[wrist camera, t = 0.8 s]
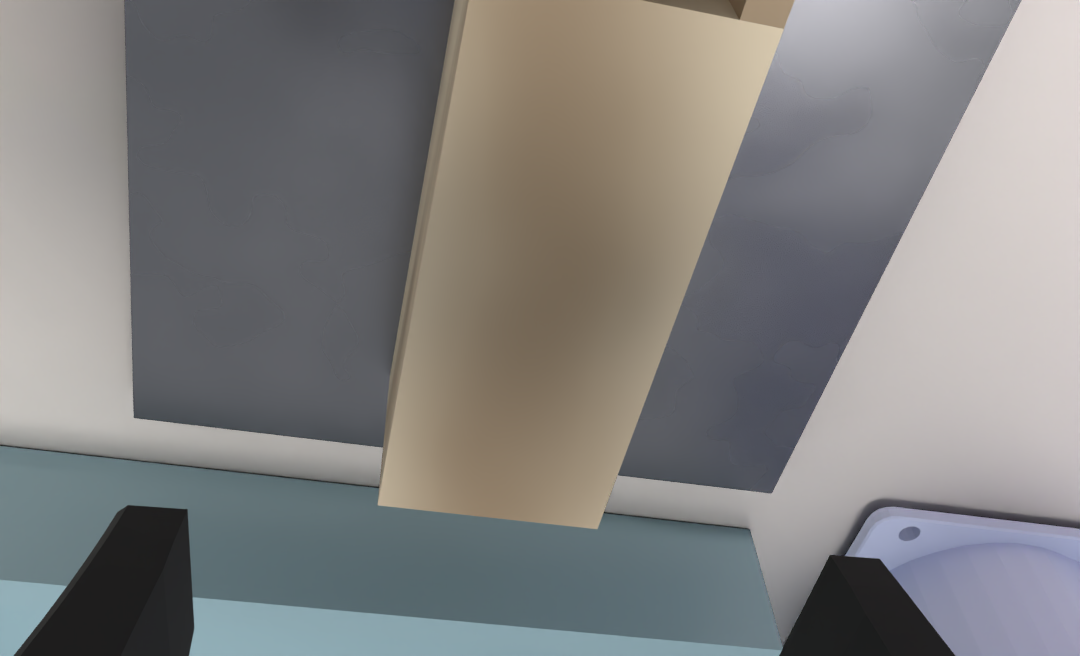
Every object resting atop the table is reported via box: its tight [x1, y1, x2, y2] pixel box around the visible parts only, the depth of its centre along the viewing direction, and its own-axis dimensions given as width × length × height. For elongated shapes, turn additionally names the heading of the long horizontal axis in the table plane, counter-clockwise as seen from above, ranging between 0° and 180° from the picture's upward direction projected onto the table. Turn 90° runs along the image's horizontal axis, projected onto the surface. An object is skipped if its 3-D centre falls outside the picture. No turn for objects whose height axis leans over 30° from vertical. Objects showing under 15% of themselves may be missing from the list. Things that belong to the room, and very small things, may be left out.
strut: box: [378, 0, 795, 529], centre depth 16 cm, size 4×13×4 cm, turn 167°
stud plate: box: [124, 0, 1021, 493], centre depth 17 cm, size 14×17×3 cm
